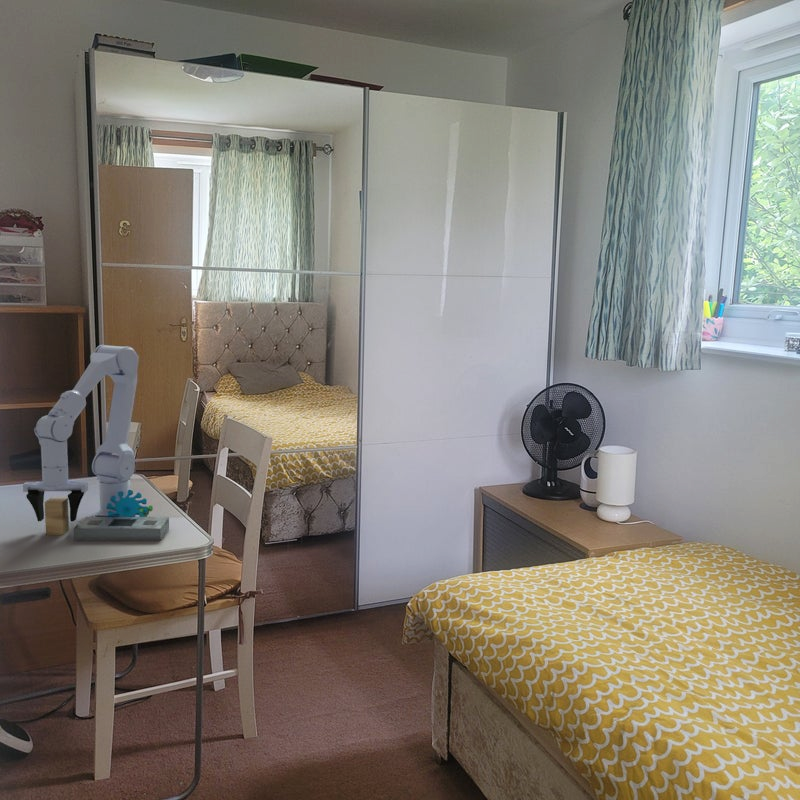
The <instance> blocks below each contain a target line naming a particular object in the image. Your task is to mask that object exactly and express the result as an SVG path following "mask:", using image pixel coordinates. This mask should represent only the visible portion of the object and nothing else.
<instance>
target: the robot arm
mask: <svg viewBox="0 0 800 800" xmlns="http://www.w3.org/2000/svg"><path fill="white" fill-rule="evenodd" d="M89 359H90V363H89V364H88V366H87V368H86V369H85V371H84V372H83V374H82V375H81V377H80V378H79V380H78V381H77V383H76V384H75V386H74V387H73V389H72V390H67V391H64V392H62V393H61V394H60V396H59V399H58V400H57V402H56V403H55V404H54V406H53V407H52V408H51V409H50V411H49V412H48V414H46V415H44V416H42V417H41V418H39V420H37V422H36V425H35V427H34V429H33V431H34V434H35V436H36V437H37V439H38V443H39V445H40V453H41V454H40V455H41V477H42V478H41V479H42V481H25V482H24V483H23V484H22V492H23V493H27V494H26V495H25V496H26V499H27V501H29V503H30V504H31V506H32V509H33V510H34V513H35V516H36V519H37V522H42V521H44V519H45V506H44V503H45V502H44V498H45V492H70V493H69V494H67V498H68V506H69V520H70V521H69V522H75V521H76V520H77V517H78V510H79V507H80V504H81V501H82V499H83V497H84V495H85V493H87V492H88V490H89V483H88V482H84V481H83V482H82V481H73V480H69V465H68V464H69V461H68V458H69V457H68V439H69V438H70V437H71V436H72V434H73V429H74V425H75V421H76V419H77V418H78V416H79V415H80V414H81V413H82V411H83V410H84V409H85V407H86V405H87V401H86V398H87V397H88V396H89V394H90V393H91V392H92V391H93V390H94V388H95V387H96V386H97V385H98V384H99V382H100V381H101V380H102V379H103V378H104V377H105V376H108V377H110V378H111V379H110V380H112V381H113V383H114V385H113V392H112V397H111V404H110V410H109V415H108V416H109V417H108V424H107V429H106V435H105V436H106V437H105V441H104V442H103V443H102V444H101V445H99V446H98V447H97V449H96V454H95V456H94V458H93V460H92V463H91V471H92V473H93V474H94V475H95V476H96V480H98V481H99V482H98V484H99V485H98V486H99V509H98V511H97V512H96V513H95V514H94V517H108V511H111V512H113V513H115V512H116V511H115V510H113V509H107V508H106V506H107V504H108V503H111V505H112V506H113V507H115V506H116V505H115V503H114V502H112V501H111V500H110V498H111V497H112V496H115V497H116V501H119V500H120V497H119V496H118V492H120V491H123V492H124V495H123V496H122V498H125V497H126V496H127V494H128V490H132V483H131V478H132V476H133V475H134V473H135V469H136V464H135V452H134V451H133V449H132V448H131V447H130V446H129V443H128V442H129V437H130V429H131V423H132V416H133V411H134V404H135V397H136V396H135V395H136V390H137V386H138V385H137V383H138V369H139V367H138V366H139V362H140V361H139V360H140V357H139V355H138V354H137V352H136V350H135V349H134V348H133V347H131V346H119V345H118V346H116V345H107V344H100V345H98V346H97V347H96V348H95V349H94V351H93V352H92V353H91V354H90V358H89ZM129 497H130V498H131V497H132V495H131V496H129ZM114 517H118V516H117V515H115V516H114Z"/></svg>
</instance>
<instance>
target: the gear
mask: <svg viewBox="0 0 800 800" xmlns="http://www.w3.org/2000/svg"><path fill="white" fill-rule="evenodd" d="M133 494H134V490H132V489H131V490H128V494H127V496H126V497H125V498H122V496H123V495H124V492H123V491H120V492H118V496H119V497H120V500H119V501H116V497H115V496H112V497H111V498H110V500H111V501H112V502H114V503H115V505H116V506H115V507H113V506H112V505H111V503H108V504H107V506H106V508H107V509H113V510H115V511H116V512H115V513H113V512H111V511H108V516H107V517H137V516H138V517H148V516H149V515H150V512H152V511H153V509H154V508H153V505H149V506H144V505H147V502H148V501H147V498H143V499H141V498H142V494H141V492H136V494H135V495H134V496H132V495H133ZM129 496H131V498H130V497H129ZM141 504H142V505H141ZM115 515H117V516H115Z"/></svg>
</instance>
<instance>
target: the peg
mask: <svg viewBox="0 0 800 800" xmlns="http://www.w3.org/2000/svg"><path fill="white" fill-rule="evenodd" d="M44 519H45V535H51V536H52V535H54V536H56V535H59V536H60V535H61V536H63V535H65V534H66V532H68V531H69V530H70V524H69V523H70V521H69V520H70V515H69V499H68V497H50V498H49V499H47V500H46V501H45V502H44Z"/></svg>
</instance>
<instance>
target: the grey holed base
mask: <svg viewBox="0 0 800 800" xmlns="http://www.w3.org/2000/svg"><path fill="white" fill-rule="evenodd" d="M169 530H170V517H169V516H147V517H139V516H135V517H120V516H112V517H108V516H85V517H84V518H83V519H82V520H81V521H80V522H79V523H78V524H76V525H75V526H74V527H73V541H74V542H75V541H78V542H79V541H81V542H82V541H83V542H84V541H85V542H86V541H87V542H89V541H91V542H92V541H93V542H95V541H96V542H97V541H98V542H101V541H102V542H103V541H104V542H105V541H107V542H108V541H110V542H112V541H113V542H118V541H120V542H122V541H124V542H125V541H126V542H131V541H132V542H137V541H138V542H139V541H141V542H145V541H149V542H151V541H152V542H156V541H157V542H160V541H162V539H163V538H164V537H165V535H166V534H167V532H168V531H169Z"/></svg>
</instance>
